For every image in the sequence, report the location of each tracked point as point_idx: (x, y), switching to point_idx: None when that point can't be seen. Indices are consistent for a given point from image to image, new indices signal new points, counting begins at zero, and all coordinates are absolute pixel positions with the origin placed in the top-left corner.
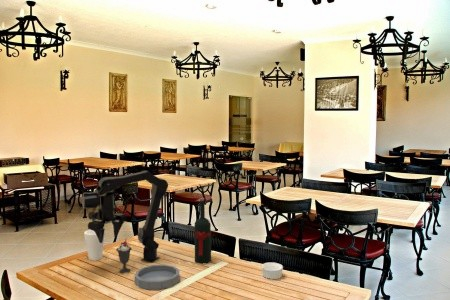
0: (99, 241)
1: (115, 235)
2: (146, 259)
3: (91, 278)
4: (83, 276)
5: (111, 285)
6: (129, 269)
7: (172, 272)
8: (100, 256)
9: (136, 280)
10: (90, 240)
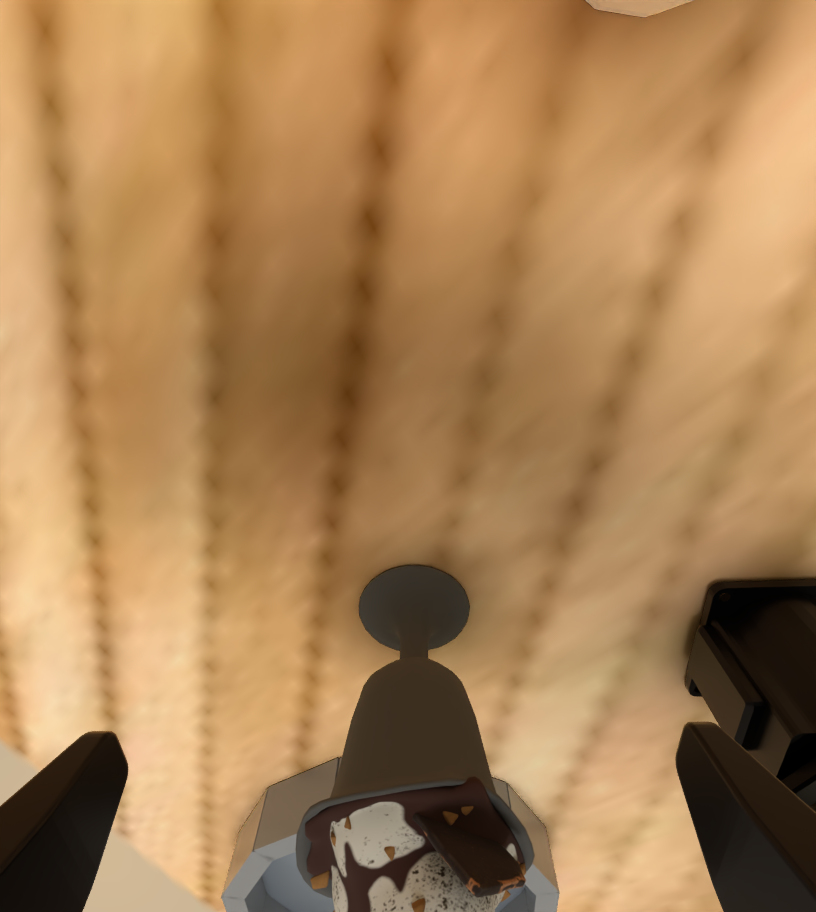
0: (48, 771)
1: (698, 800)
2: (696, 669)
3: (98, 465)
4: (63, 346)
5: (137, 692)
6: (452, 633)
7: (516, 894)
8: (653, 8)
9: (245, 845)
10: None
